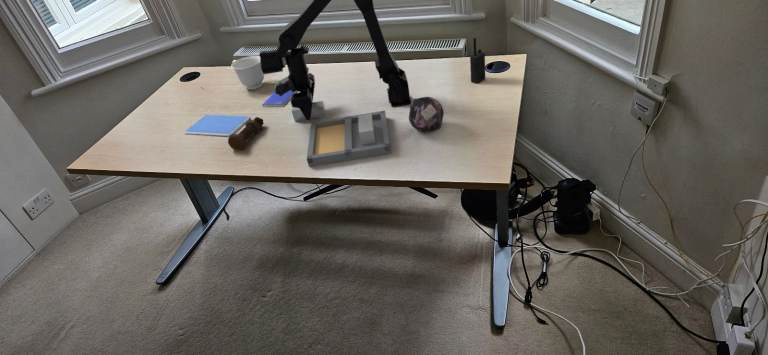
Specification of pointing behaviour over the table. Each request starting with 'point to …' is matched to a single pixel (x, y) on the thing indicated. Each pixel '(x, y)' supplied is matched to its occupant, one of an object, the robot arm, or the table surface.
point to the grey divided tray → (348, 138)
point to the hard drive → (278, 99)
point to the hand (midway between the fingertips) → (309, 113)
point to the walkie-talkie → (477, 65)
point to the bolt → (245, 134)
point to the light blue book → (217, 125)
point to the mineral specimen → (426, 114)
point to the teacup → (249, 71)
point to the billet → (316, 111)
